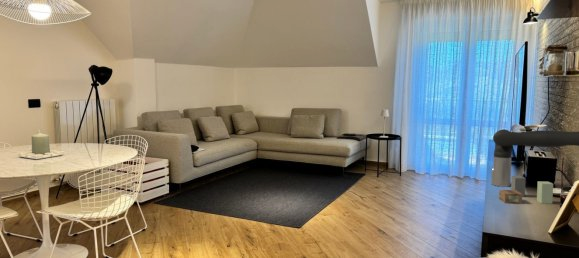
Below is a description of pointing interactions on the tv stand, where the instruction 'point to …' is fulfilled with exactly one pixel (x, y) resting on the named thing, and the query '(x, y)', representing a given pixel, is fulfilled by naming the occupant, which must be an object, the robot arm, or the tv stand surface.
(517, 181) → the charcoal block
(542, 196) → the sage green block
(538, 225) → the tv stand surface
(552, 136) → the robot arm
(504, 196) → the brown box
